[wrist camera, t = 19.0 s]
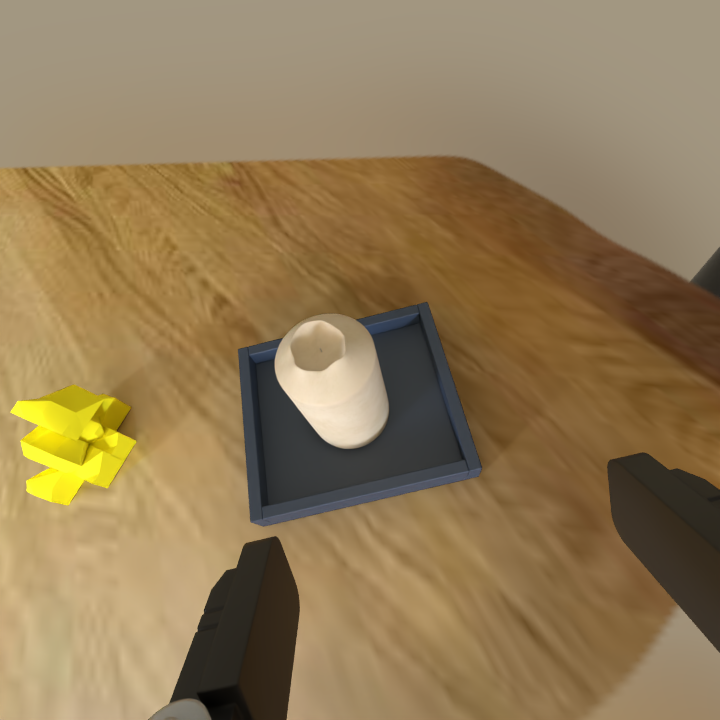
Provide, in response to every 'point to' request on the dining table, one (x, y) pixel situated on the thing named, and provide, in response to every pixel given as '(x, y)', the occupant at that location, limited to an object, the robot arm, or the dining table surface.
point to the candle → (334, 379)
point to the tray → (373, 461)
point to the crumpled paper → (73, 441)
